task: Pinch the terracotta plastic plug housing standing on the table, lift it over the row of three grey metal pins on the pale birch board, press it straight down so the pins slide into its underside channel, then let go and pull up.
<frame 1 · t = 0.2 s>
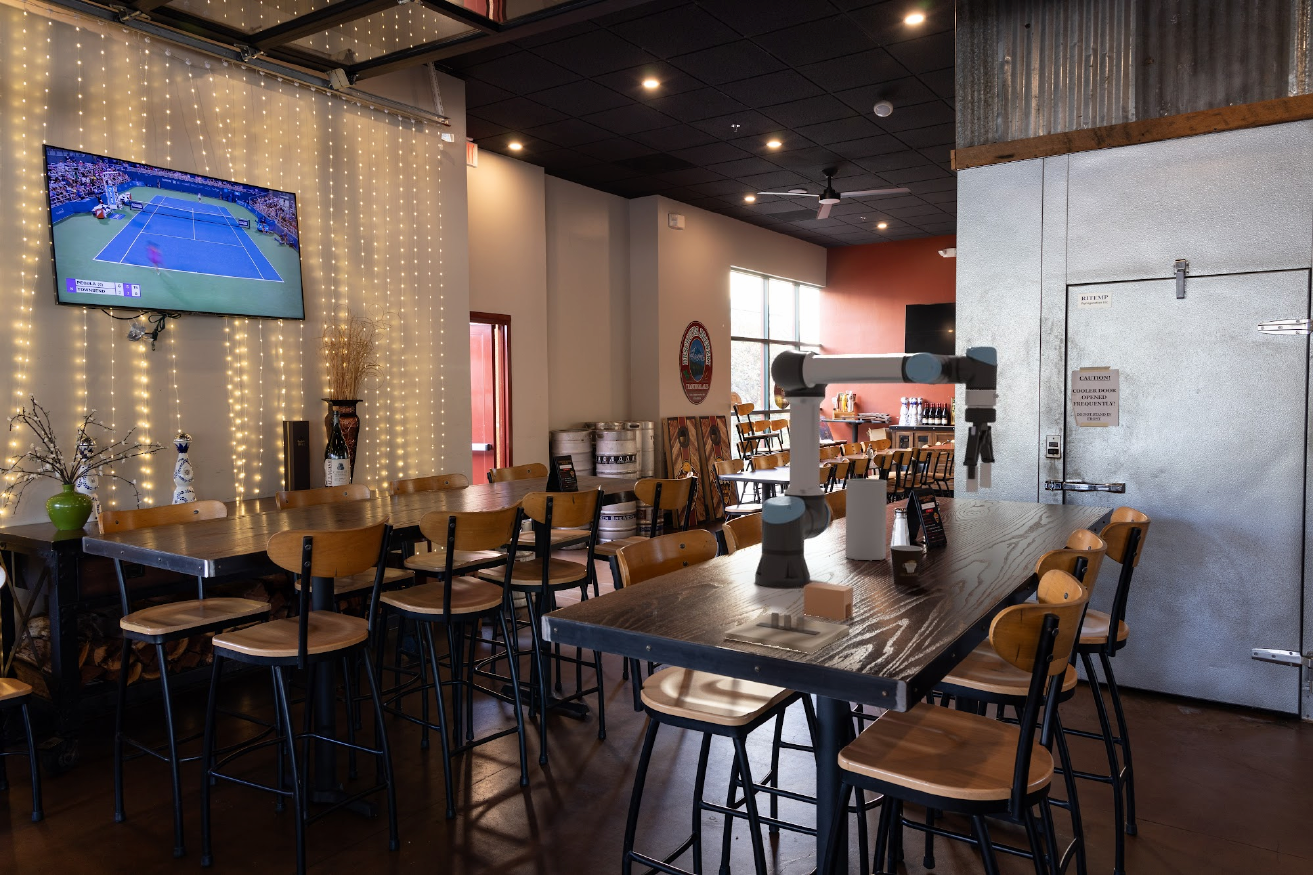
hand: (978, 490, 226), 28 cm above the table, tool pointing down, fingers open, 13 cm apart
coffee mug: (911, 584, 243), on the table
plug housing: (828, 615, 208), on the table
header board: (787, 636, 190), on the table
cylinder vase: (865, 558, 283), on the table
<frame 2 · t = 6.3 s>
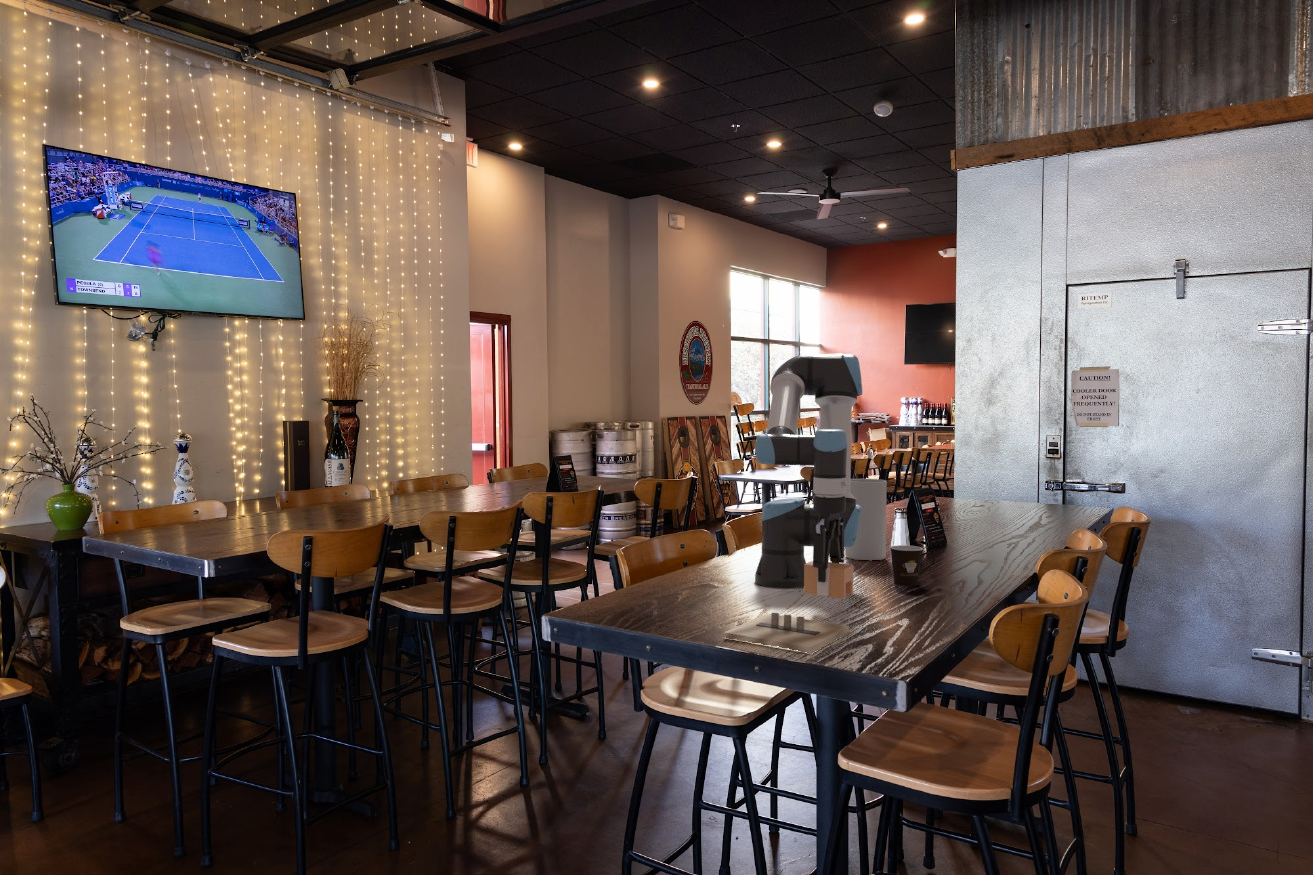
hand: (828, 592, 208), 5 cm above the table, tool pointing down, fingers closed on plug housing, 6 cm apart
plug housing: (828, 593, 208), point 5 cm above the table, touching gripper
everything else where it was.
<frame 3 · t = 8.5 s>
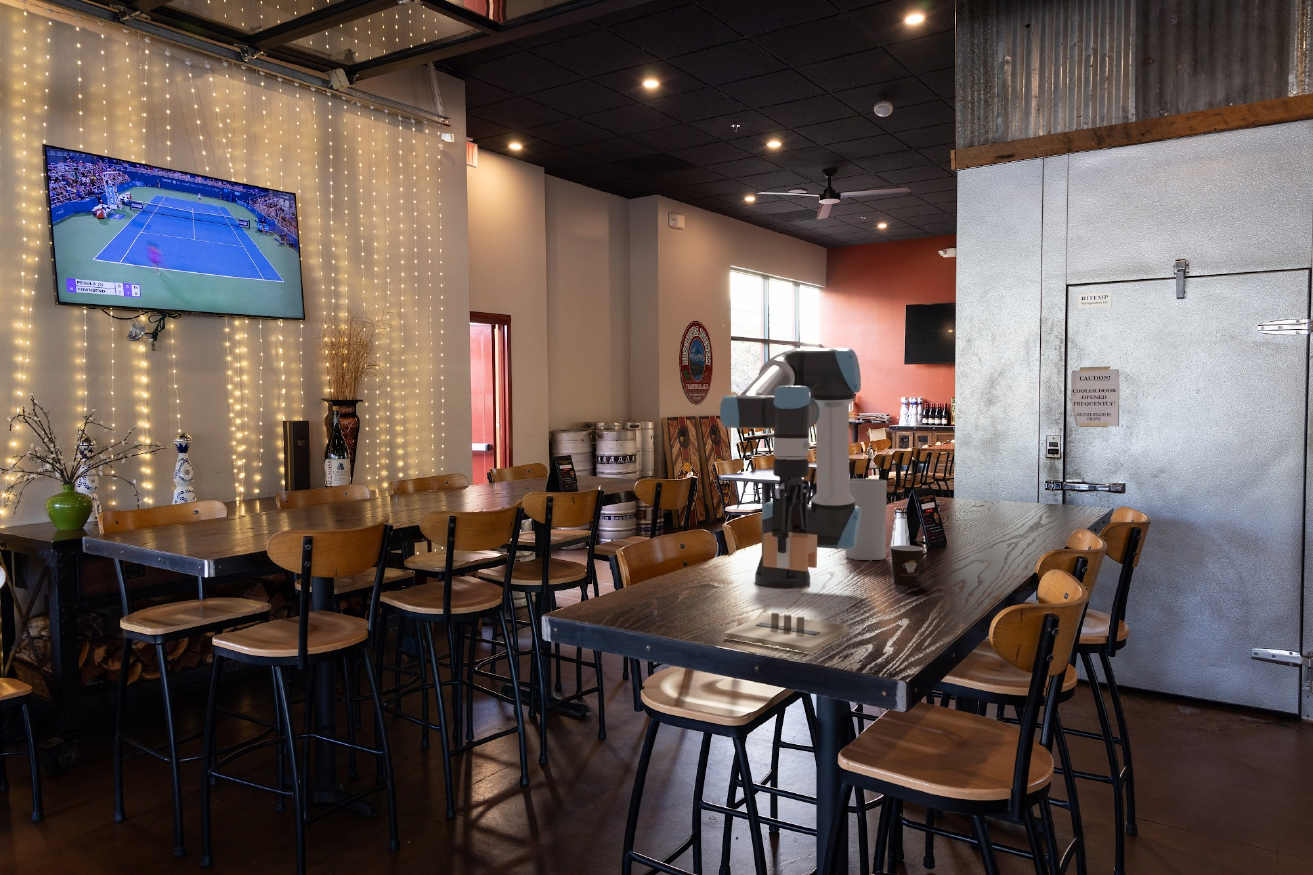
hand: (789, 565, 189), 15 cm above the table, tool pointing down, fingers closed on plug housing, 6 cm apart
plug housing: (789, 566, 189), point 15 cm above the table, touching gripper
everything else where it was.
when the fingers open (2 cm above the table, at t = 10.9 s): plug housing stays where it is, resting on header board.
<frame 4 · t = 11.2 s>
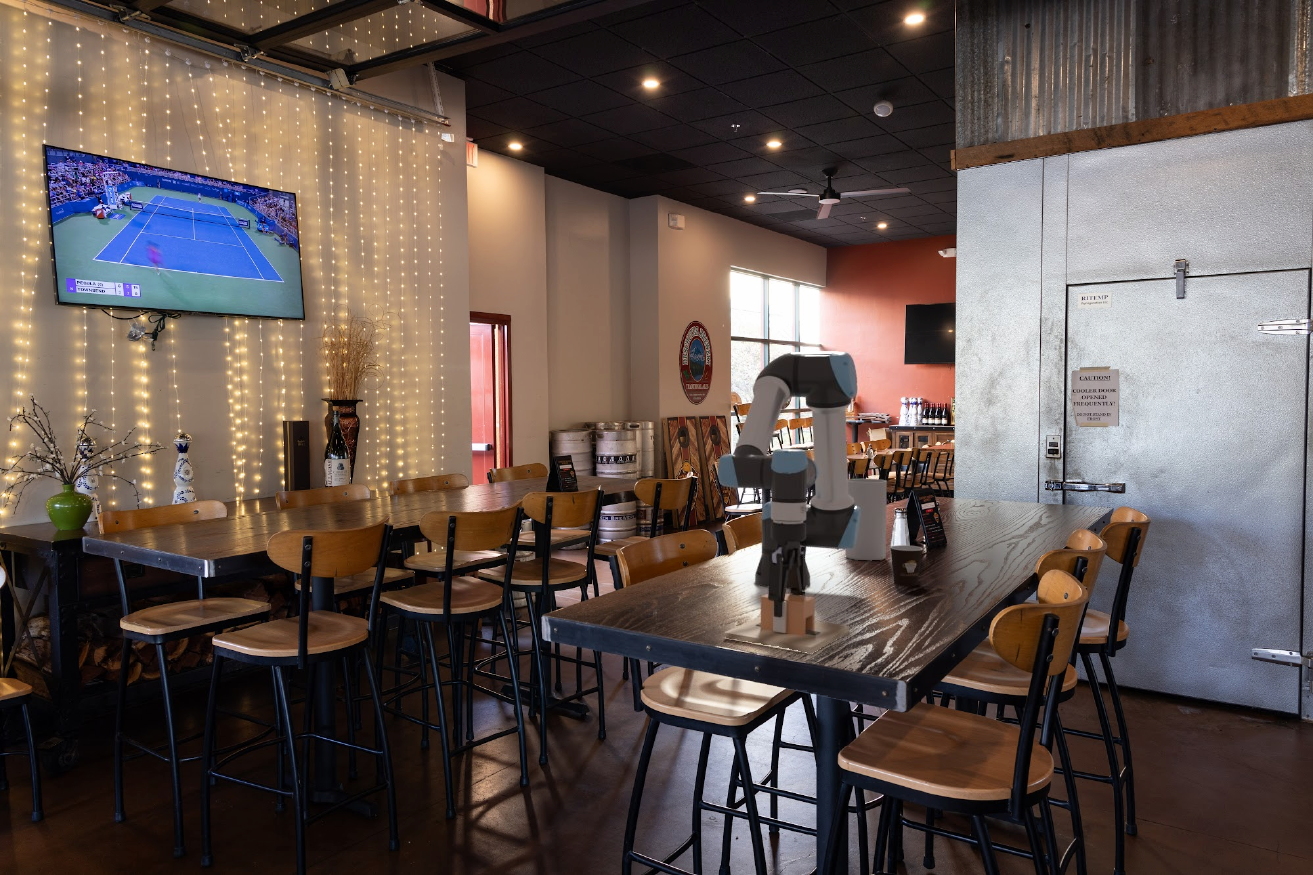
hand: (786, 628, 189), 2 cm above the table, tool pointing down, fingers open, 6 cm apart
plug housing: (787, 629, 189), point 1 cm above the table, touching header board
everything else where it was.
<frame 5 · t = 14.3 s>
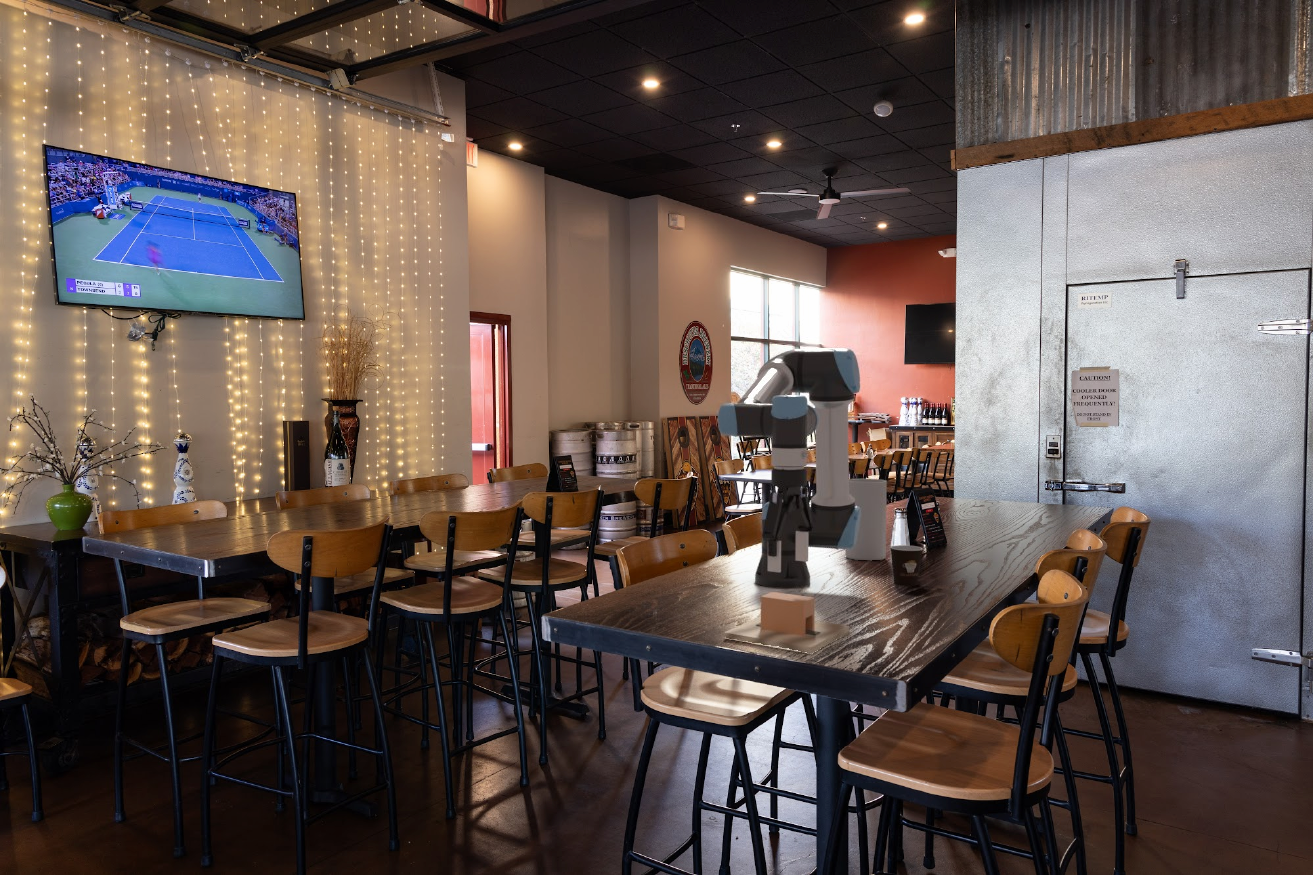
hand: (788, 566, 189), 15 cm above the table, tool pointing down, fingers open, 13 cm apart
nothing on the table moved.
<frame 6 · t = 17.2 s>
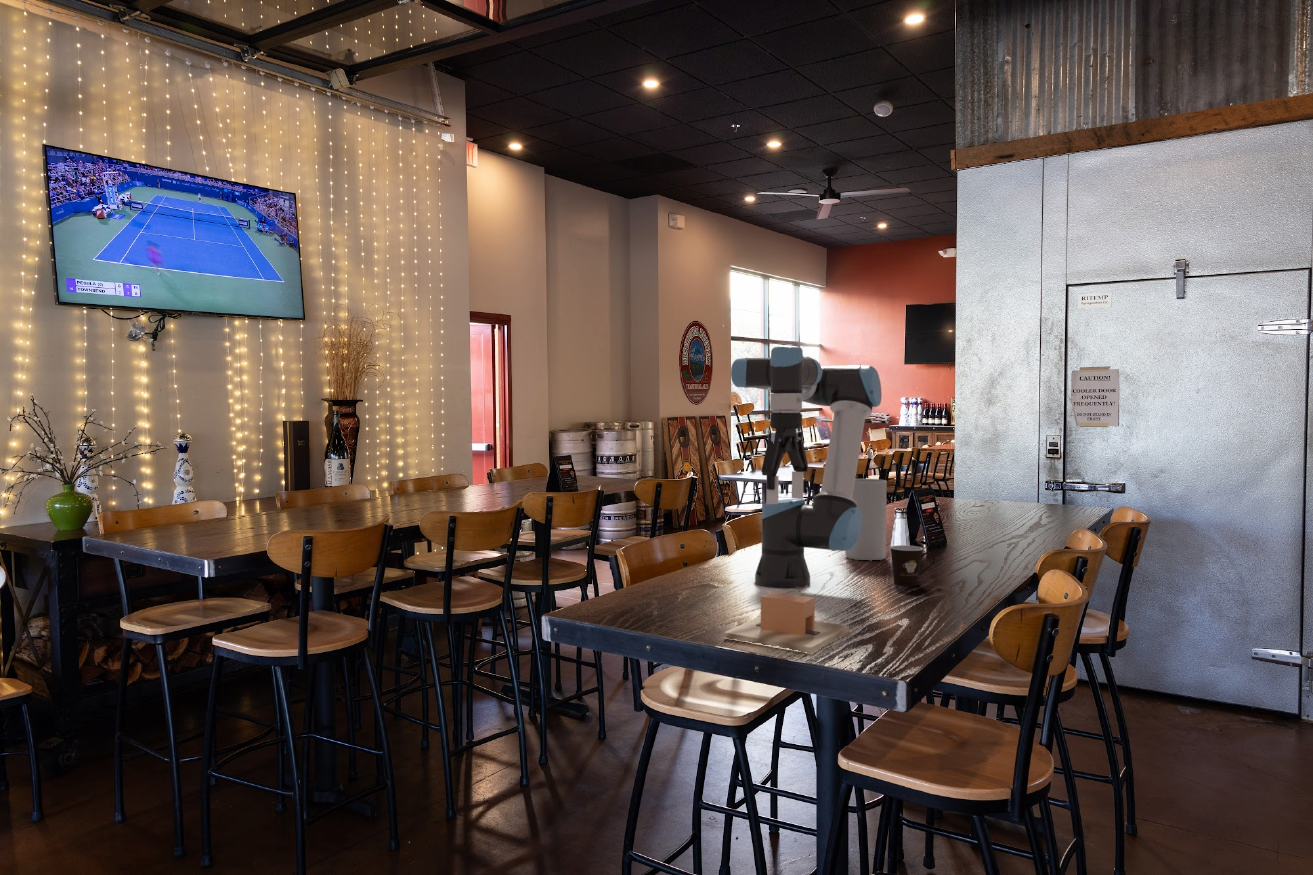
hand: (785, 501, 210), 27 cm above the table, tool pointing down, fingers open, 13 cm apart
nothing on the table moved.
at the end: plug housing 0.1 cm off-centre on the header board, point 1.5 cm above the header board's base; plug housing tilted 0°; the gripper is holding nothing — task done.
